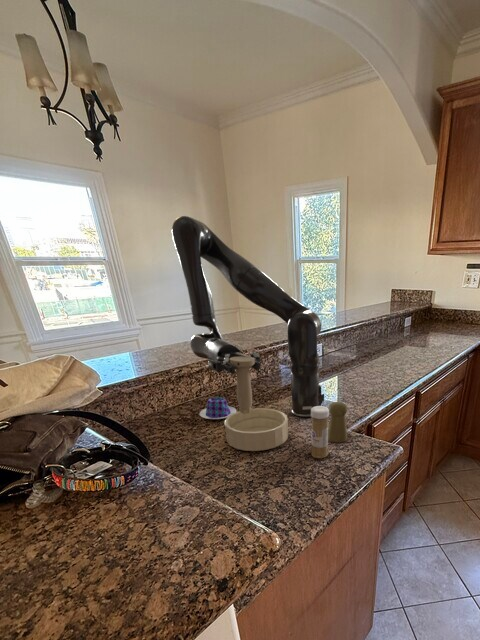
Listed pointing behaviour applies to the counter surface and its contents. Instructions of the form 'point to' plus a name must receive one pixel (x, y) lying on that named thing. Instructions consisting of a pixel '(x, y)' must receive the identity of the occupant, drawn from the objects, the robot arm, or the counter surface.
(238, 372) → the handle
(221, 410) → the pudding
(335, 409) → the green pepper mill
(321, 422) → the sprinkles bottle
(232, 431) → the bowl
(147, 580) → the counter surface
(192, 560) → the counter surface
